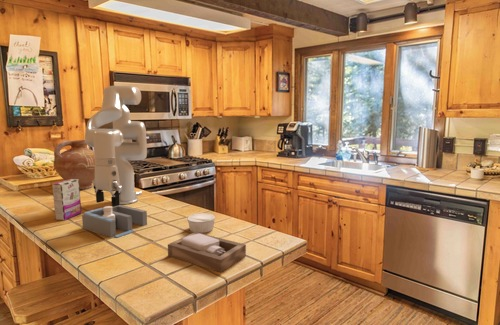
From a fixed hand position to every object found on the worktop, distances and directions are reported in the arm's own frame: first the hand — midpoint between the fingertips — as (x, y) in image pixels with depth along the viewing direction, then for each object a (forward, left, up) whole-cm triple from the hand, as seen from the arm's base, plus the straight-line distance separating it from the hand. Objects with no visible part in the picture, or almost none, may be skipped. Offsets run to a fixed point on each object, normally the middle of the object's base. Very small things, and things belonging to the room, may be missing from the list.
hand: (107, 203), depth 135 cm
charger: (-1, +49, -10) cm, 50 cm away
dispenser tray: (-1, +49, -11) cm, 50 cm away
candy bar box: (0, -30, -11) cm, 32 cm away
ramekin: (-20, +31, -11) cm, 39 cm away
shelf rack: (-3, 0, -11) cm, 11 cm away
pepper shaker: (0, 0, -11) cm, 11 cm away
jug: (-37, -79, -11) cm, 88 cm away
